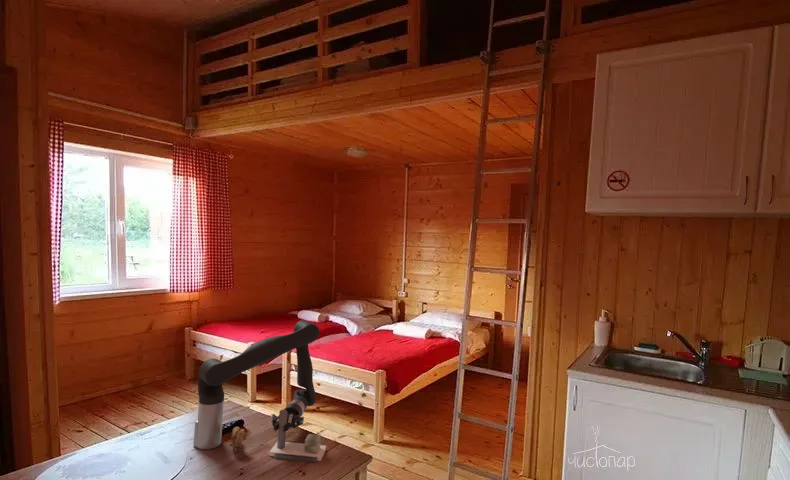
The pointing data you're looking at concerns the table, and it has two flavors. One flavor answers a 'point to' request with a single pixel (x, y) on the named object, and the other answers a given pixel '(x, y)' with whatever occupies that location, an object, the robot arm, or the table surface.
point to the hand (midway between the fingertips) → (280, 429)
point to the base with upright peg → (290, 447)
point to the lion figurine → (238, 438)
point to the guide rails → (296, 456)
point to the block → (312, 443)
